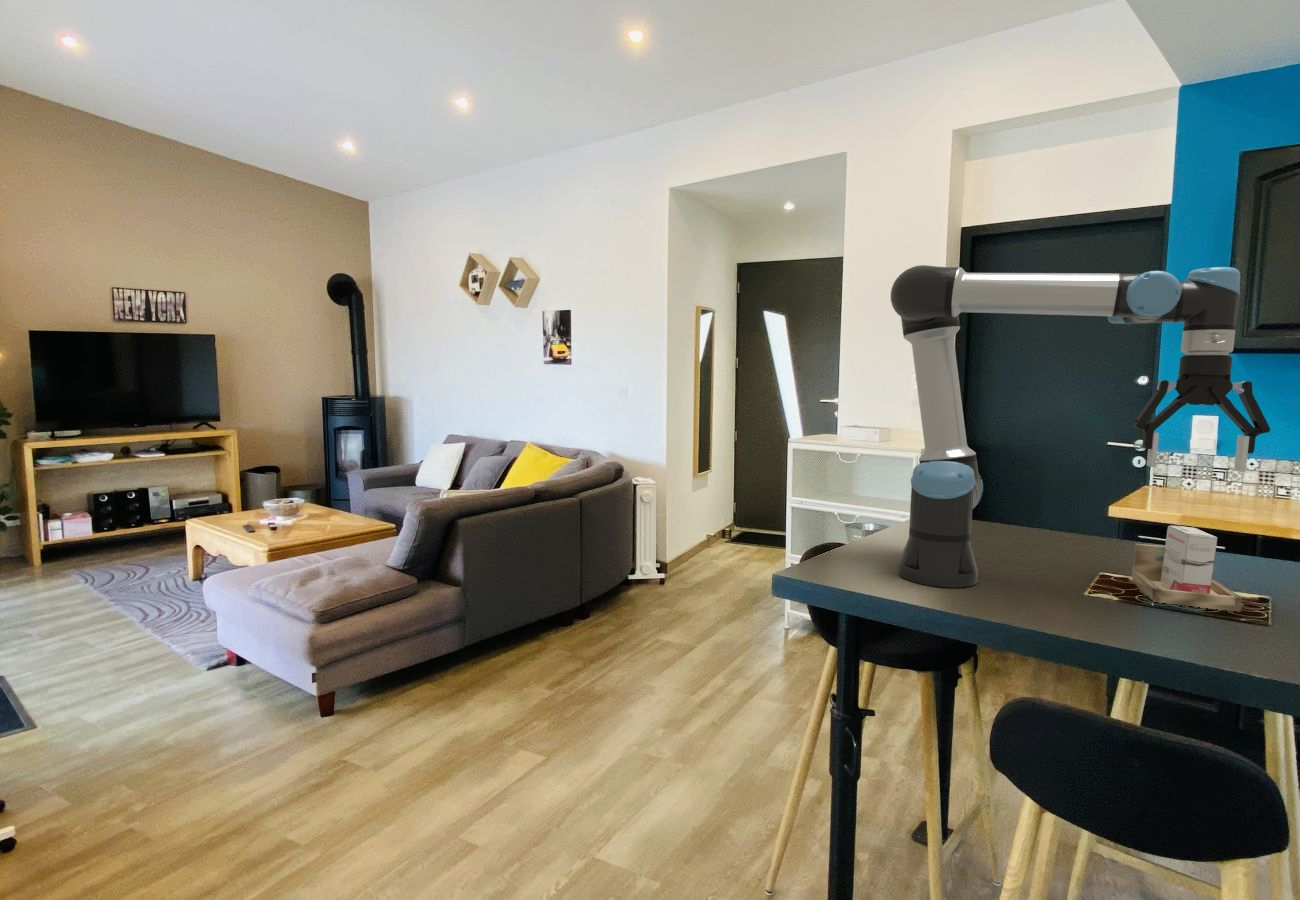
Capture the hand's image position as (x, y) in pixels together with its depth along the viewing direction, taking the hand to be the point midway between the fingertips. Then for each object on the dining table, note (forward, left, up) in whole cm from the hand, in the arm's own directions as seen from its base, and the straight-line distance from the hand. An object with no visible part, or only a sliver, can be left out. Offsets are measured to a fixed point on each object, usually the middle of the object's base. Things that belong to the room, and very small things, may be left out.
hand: (1194, 468), depth 127 cm
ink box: (0, 0, -24) cm, 24 cm away
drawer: (0, 0, -24) cm, 25 cm away
